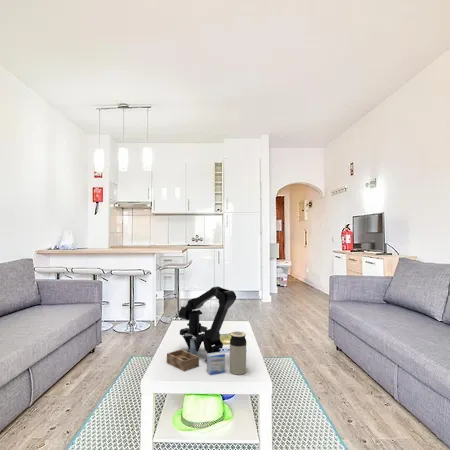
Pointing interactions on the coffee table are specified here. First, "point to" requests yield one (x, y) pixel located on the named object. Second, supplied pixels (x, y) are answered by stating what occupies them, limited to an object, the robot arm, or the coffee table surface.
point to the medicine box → (215, 363)
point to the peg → (192, 346)
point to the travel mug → (238, 353)
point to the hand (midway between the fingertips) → (193, 350)
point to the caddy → (183, 360)
